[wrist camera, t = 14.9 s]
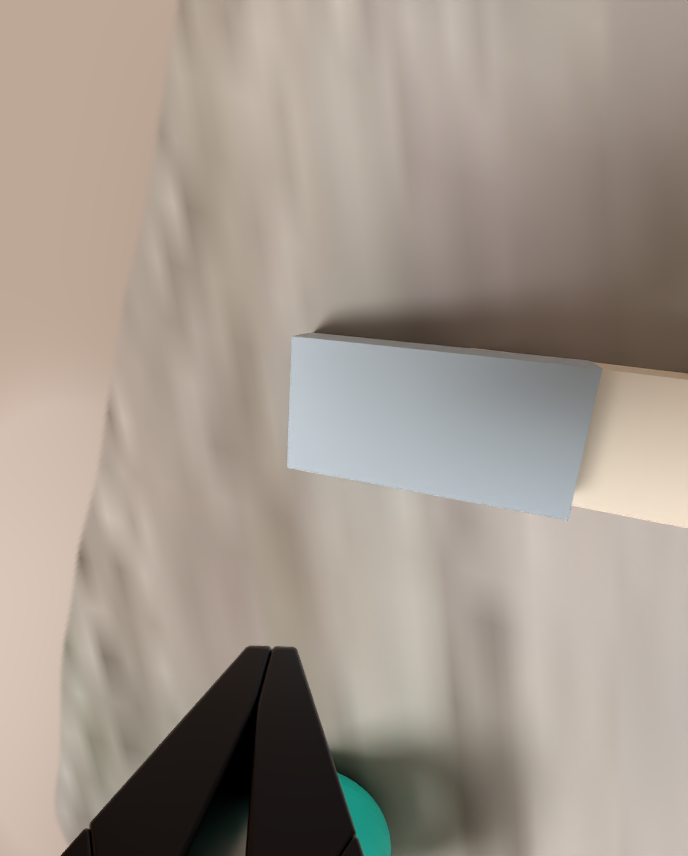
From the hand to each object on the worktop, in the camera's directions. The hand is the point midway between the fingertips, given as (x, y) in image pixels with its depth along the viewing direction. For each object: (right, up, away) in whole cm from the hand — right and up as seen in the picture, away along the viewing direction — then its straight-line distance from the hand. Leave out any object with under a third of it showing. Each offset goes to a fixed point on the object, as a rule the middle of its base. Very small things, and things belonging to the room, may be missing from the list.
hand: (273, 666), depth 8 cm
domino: (-1, +5, +10) cm, 11 cm away
